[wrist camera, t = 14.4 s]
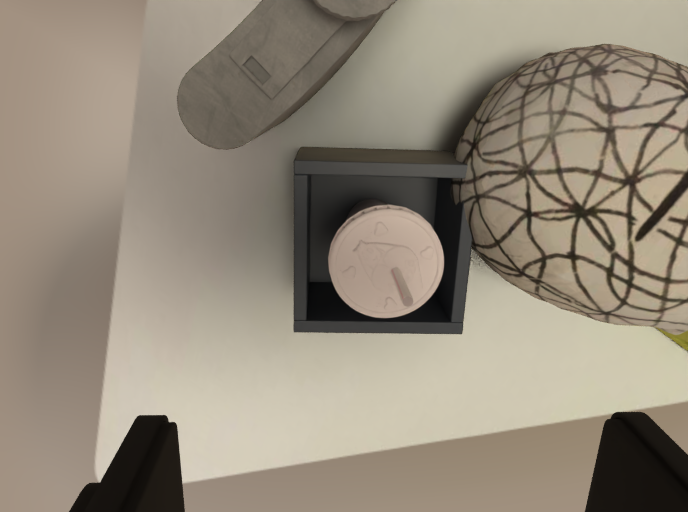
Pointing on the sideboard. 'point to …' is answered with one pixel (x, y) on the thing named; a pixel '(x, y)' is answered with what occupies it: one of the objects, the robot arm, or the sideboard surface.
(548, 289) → the sculpture
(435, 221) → the bin
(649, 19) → the sideboard surface
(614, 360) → the sideboard surface
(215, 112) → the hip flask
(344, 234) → the smoothie
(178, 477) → the robot arm
